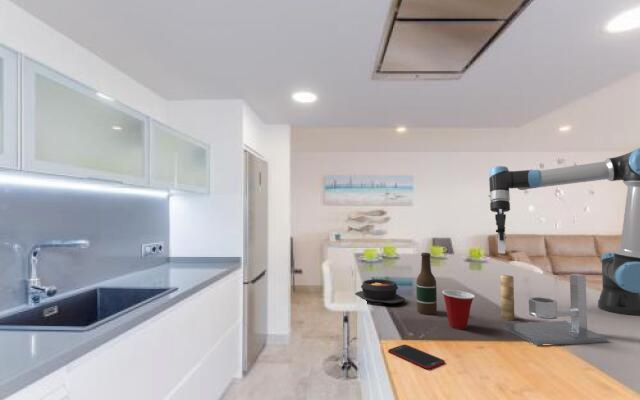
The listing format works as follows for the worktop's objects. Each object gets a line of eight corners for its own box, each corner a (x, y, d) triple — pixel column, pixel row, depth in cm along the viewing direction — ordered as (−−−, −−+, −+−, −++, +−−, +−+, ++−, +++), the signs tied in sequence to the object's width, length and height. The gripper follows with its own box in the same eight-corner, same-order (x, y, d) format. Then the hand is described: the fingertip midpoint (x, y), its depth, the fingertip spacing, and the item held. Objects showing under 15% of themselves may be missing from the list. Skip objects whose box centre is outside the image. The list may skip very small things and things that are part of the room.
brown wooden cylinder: (509, 316, 134) (508, 275, 135) (517, 320, 130) (516, 277, 131) (498, 316, 134) (497, 275, 134) (506, 320, 130) (505, 277, 130)
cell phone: (404, 347, 106) (404, 343, 106) (446, 364, 94) (446, 360, 94) (386, 353, 102) (386, 349, 102) (428, 372, 90) (428, 368, 90)
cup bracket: (565, 325, 124) (563, 270, 124) (607, 342, 108) (605, 279, 109) (502, 328, 121) (501, 272, 122) (536, 346, 105) (534, 281, 106)
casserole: (414, 302, 156) (414, 283, 156) (387, 310, 144) (387, 289, 145) (372, 292, 175) (372, 275, 176) (346, 298, 164) (345, 280, 164)
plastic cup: (478, 332, 117) (478, 296, 117) (445, 330, 119) (444, 295, 120) (471, 322, 128) (470, 289, 128) (440, 320, 130) (440, 288, 130)
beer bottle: (436, 310, 143) (435, 252, 144) (436, 315, 136) (435, 254, 137) (417, 308, 146) (416, 251, 146) (416, 314, 138) (415, 253, 139)
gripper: (490, 208, 162) (492, 254, 156) (489, 194, 140) (491, 246, 135) (508, 208, 158) (511, 255, 153) (510, 193, 137) (513, 247, 132)
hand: (501, 251), depth 144 cm, fingers open, 13 cm apart
